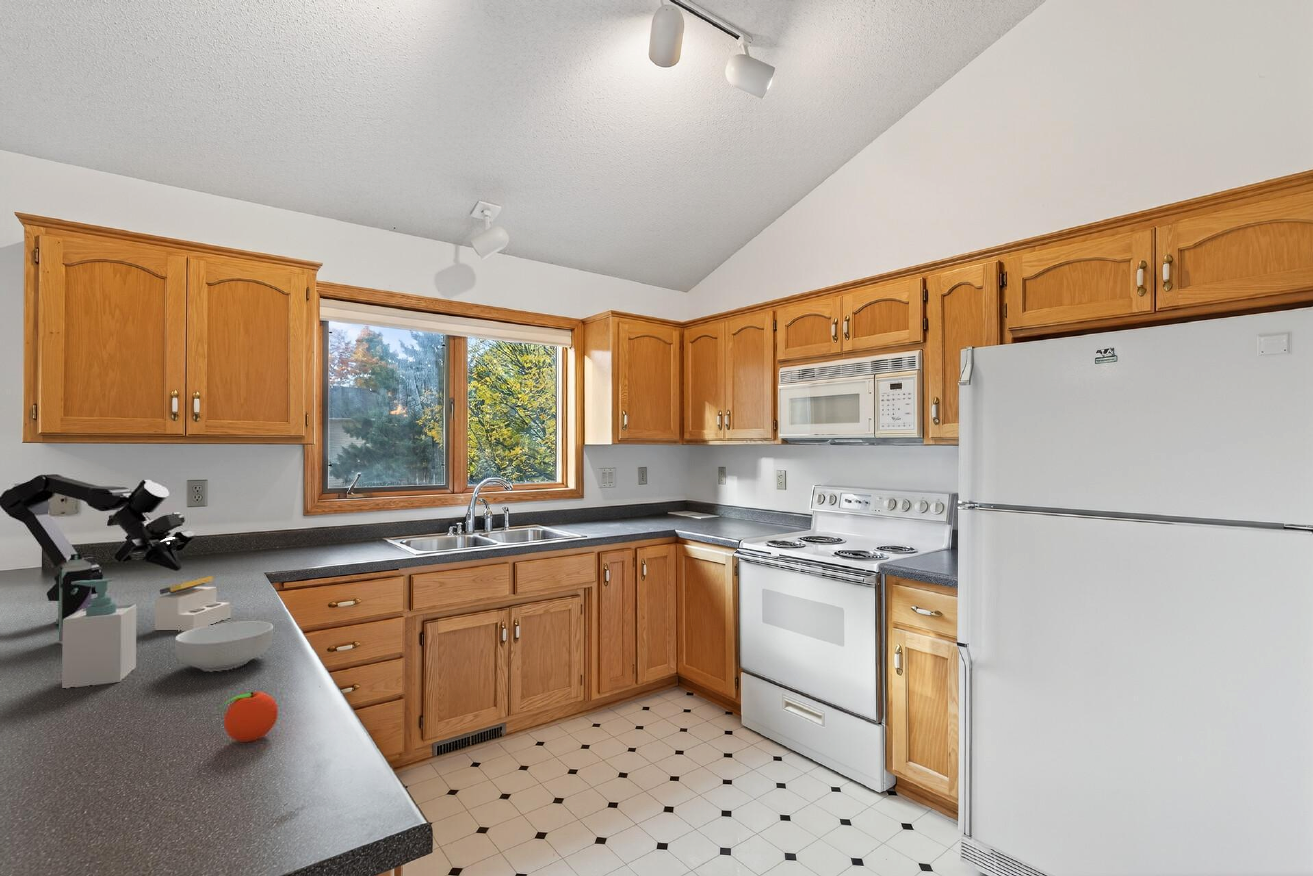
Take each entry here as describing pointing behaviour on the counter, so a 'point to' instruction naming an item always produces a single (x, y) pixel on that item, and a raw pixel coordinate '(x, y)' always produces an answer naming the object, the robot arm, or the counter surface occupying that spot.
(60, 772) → the counter surface
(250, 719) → the clementine
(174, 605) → the stepped slotted block
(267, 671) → the counter surface
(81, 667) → the soap bottle
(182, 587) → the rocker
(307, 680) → the counter surface
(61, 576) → the spray can
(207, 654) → the cereal bowl
